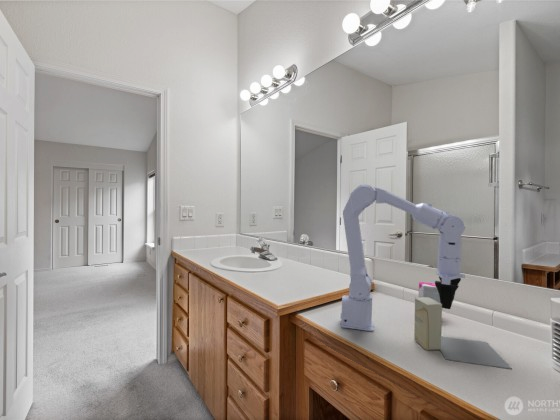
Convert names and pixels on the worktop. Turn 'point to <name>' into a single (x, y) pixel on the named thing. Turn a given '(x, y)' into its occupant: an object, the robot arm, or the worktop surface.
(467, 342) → the rubber mat
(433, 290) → the supplement box
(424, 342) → the skincare box
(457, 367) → the worktop surface
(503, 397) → the worktop surface
